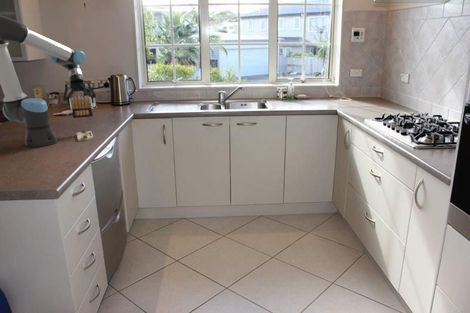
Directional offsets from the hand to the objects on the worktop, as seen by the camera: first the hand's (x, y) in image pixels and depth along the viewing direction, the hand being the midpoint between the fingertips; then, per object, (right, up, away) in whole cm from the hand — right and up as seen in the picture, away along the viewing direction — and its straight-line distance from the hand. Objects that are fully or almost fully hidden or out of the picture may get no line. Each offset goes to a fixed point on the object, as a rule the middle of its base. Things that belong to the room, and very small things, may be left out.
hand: (81, 108), depth 218 cm
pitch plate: (+3, -16, -2) cm, 17 cm away
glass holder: (-34, +13, +98) cm, 105 cm away
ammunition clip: (-1, -5, +4) cm, 6 cm away
